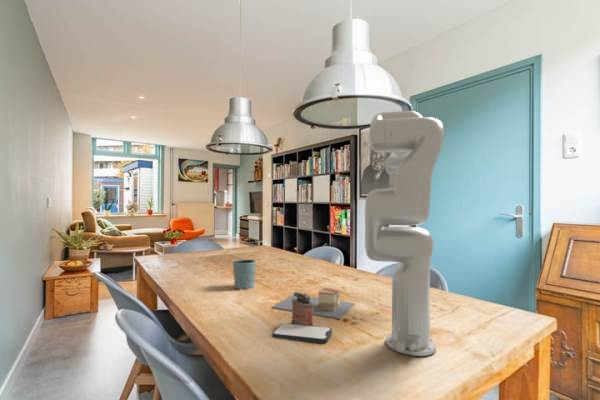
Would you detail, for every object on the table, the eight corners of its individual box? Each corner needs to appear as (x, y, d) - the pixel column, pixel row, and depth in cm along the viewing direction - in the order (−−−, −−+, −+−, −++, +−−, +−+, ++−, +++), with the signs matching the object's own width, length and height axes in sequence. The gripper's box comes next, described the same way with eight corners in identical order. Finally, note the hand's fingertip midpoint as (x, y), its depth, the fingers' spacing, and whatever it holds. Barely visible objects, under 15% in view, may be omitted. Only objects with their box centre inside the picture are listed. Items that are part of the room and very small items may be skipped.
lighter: (315, 327, 95) (315, 294, 95) (308, 330, 92) (308, 297, 93) (296, 320, 100) (296, 289, 101) (289, 323, 98) (289, 291, 98)
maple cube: (334, 310, 109) (334, 293, 109) (318, 308, 111) (318, 291, 112) (339, 306, 114) (339, 289, 114) (324, 303, 117) (324, 287, 117)
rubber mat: (339, 319, 102) (339, 318, 102) (271, 307, 113) (271, 306, 113) (354, 304, 118) (354, 302, 118) (293, 295, 129) (293, 294, 129)
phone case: (271, 339, 88) (326, 345, 83) (271, 333, 88) (326, 339, 83) (281, 327, 96) (332, 333, 92) (281, 322, 96) (332, 327, 92)
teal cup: (253, 290, 136) (253, 263, 136) (230, 290, 136) (230, 263, 137) (256, 284, 146) (256, 259, 147) (235, 284, 146) (235, 259, 147)
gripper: (374, 190, 120) (374, 234, 120) (422, 189, 112) (422, 236, 112) (379, 191, 127) (379, 233, 126) (424, 190, 119) (424, 235, 119)
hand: (399, 235), depth 119 cm, fingers open, 9 cm apart
